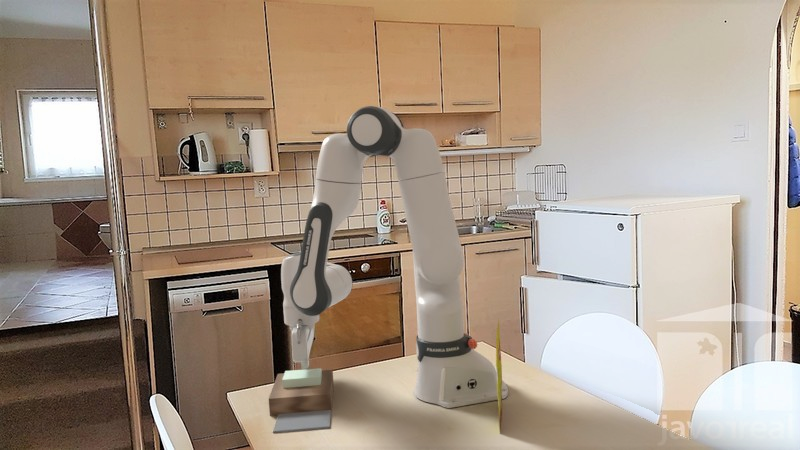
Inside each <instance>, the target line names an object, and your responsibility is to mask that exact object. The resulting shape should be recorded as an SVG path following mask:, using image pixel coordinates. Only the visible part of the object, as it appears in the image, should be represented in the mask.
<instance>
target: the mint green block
mask: <svg viewBox="0 0 800 450" xmlns="http://www.w3.org/2000/svg"><path fill="white" fill-rule="evenodd" d="M322 370H323V369H322V368H321V367H320V368H318V367H317V368H308V369H295V370H294V369H292V370H285V371H284V376H283V379H282V383H283V388H288V387H301V386H313V385H321V380H322Z"/></svg>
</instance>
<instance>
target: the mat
mask: <svg viewBox="0 0 800 450" xmlns="http://www.w3.org/2000/svg"><path fill="white" fill-rule="evenodd" d="M331 416H332V409H331V410H322V411H310V412H298V413H286V414H278V415H277V417H276V421H275V424H274V427H273V431H272V433H273V434H277V433H288V432H299V431H311V430H323V429H330V427H331V418H332V417H331Z"/></svg>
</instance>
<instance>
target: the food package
mask: <svg viewBox="0 0 800 450" xmlns="http://www.w3.org/2000/svg"><path fill="white" fill-rule="evenodd" d="M500 334H501V333H500V319H498V322H497V329H496V338H495V339H496V342H495V343H496V344H495V363H496V365H495V370H496V376H497V393H498V400H497V402H498V403H497V405H498V424H499V425H498V426H499V431H501V429H502V419H503V417H502V416H503V415H502V412H503V399H502V380H503V370H502V368H503V367H502V366H503V365H502V352H501V351H502V350H501V338H500V337H501V335H500Z"/></svg>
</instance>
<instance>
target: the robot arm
mask: <svg viewBox="0 0 800 450" xmlns="http://www.w3.org/2000/svg"><path fill="white" fill-rule="evenodd" d="M377 156H383V157H389V158H390V159H392V161H393V163H394V168H395V171H396V176H397V181H398V186H399V191H400V197H401V201H402V207H403V211H404V216H405V220H406V224H407V230H408V232H409V233H408V235H409V239H410V244H411V248H412V260H413V261H412V263H413V264H412V265H413V278H414V289H415V290H414V291H415V292H414V293H415V301H416V306H415V307H416V323H417V335H416V337H415V338H416V339H415V340H416V342H415V349H416V350H415V352H416V358H417V362H418V363H417V365H418V366H417V374H416V375H417V376H416V382H415V385H414V386H415V387H414V391H413V394H414V396H415V397H416V398H417V399H419V400H421V401H422V402H427V403H430V404H435V405H439V406H440V407H443V408H448V409H452V408H456V407H463V406H469V405H474V404H480V403H486V402H492V401H498V393H497V376H496V366H494V364H493V362H491V360H490V359H489V358H487V357H486V356H484V354H483V355H482V354H481V352H478V351H477V350H475V349H477V347H478V342H477V341H476V339H475V338H473V337H472V336H471V335H469V334H468V333H467V332H464V331H465V330H464V328H465V327H464V308H463V307H464V306H463V298H462V291H461V282H460V275H461V273H462V271H463V269H464V264H465V259H464V257H465V256H464V253H463V248H462V243H461V239H460V235H459V230H458V227H457V223H456V220H455V215H454V212H453V207H452V203H451V198H450V193H449V187H448V183H447V178H446V172H445V168H444V163H443V160H442V156H441V153H440V150H439V146H438V144H437V141H436V139H435V136H434V135H433V134H432V132H431V131H429V130H428V129H424V128H418V127H417V128H416V127H413V128H408V129H407V128H404V124H403V121H402V120H401V119H400V116H398V115H397V114H395V113H394V112H392V111H391V110H389V109H387V108H384V107H380V106H374V105H368V106H367V105H366V106H363V107H360V108H358V109H357V110H355V111H354V112H353V113H352V114H351V116H350V118H349V119H348V121H347V124H346V133H333V134H331V135H328V136H327V137H325V139H324V140H323V141H322V143H321V147H320V151H319V154H318V159H317V165H316V172H315V173H316V174H315V181H314V182H315V183H314V190H313V197H312V200H311V201H312V202H311V206H310V209H309V211H308V215H307V218H306V221H305V226H304V232H303V238H302V244H301V251H298V252H295V253H292V254H288V255H286V256H285V257H284V258H283V259H282V262H281V268H280V281H281V282H280V283H281V290H282V293H283V302H282V307H283V308H282V309H283V321H284V324H285V325H286V326H289V330H290V331H291V352H292V353H291V355H292V356H291V357H292V360H293V362H294V363H300V367H301V368H300V370H305V369H309V367H310V352H311V349H312V345H313V342H314V337H315V327H316V323H318V322H319V321H320V314H323V312H325V311H326V310H327V309H329V308H330V307H332V306H334V305H336V304H338V303H339V302H341V301H343V300H344V299H346V298H347V297H348V296H349V295H350V294H351V292H352V290H353V285H354V284H353V283H354V282H353V277H352V275H351V273H350V271H349V270H348V269H347V268H346V267H344V266H343V265H341V264H335V263H332V262H328V257H329V254H330V253H329V252H330V246H331V241H332V239H333V235H334V233H335V232H336V230H337V229H338V228H339V226H340V225H341V224H342V223H343V222H344V221H345V220H346V219H347V218H348V217H350V216H351V215H352V214H353V213H354V212H355V211H356V210H357V207H358V205H359V202H360V198H361V191H362V182H363V180H362V179H363V170H364V165H365V162H366V161H367V159H368V158H373V157H377ZM508 395H509V390H508V385H507V384H506V383H505V381H504V380H503V379H502V400H503V399H506V398H507V397H508Z"/></svg>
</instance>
